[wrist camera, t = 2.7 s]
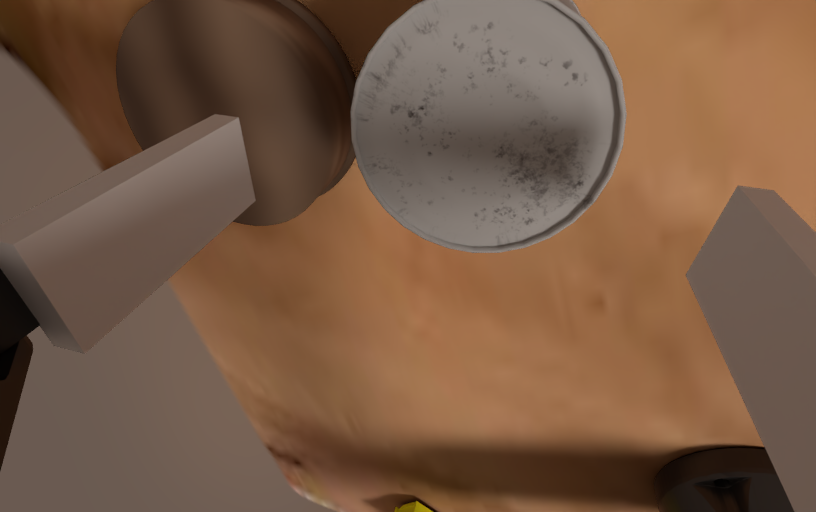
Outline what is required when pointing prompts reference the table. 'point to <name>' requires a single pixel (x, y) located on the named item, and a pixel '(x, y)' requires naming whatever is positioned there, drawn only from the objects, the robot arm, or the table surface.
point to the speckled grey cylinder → (488, 121)
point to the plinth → (245, 91)
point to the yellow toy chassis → (413, 508)
